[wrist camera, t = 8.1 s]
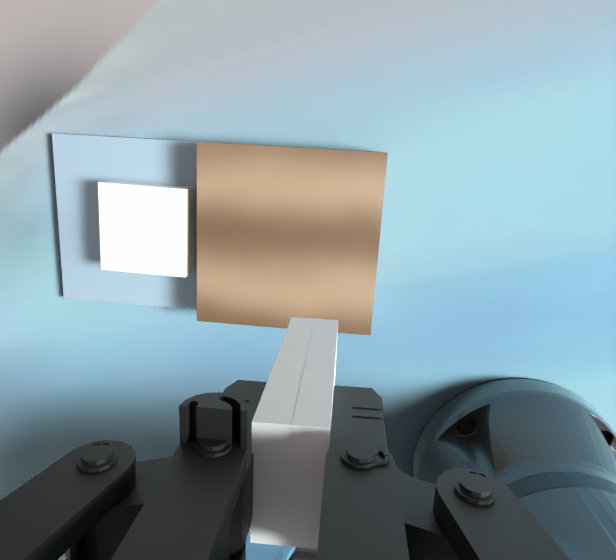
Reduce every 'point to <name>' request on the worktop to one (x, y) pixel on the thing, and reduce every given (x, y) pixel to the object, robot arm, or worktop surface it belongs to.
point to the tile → (147, 228)
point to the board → (288, 234)
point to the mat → (85, 214)
